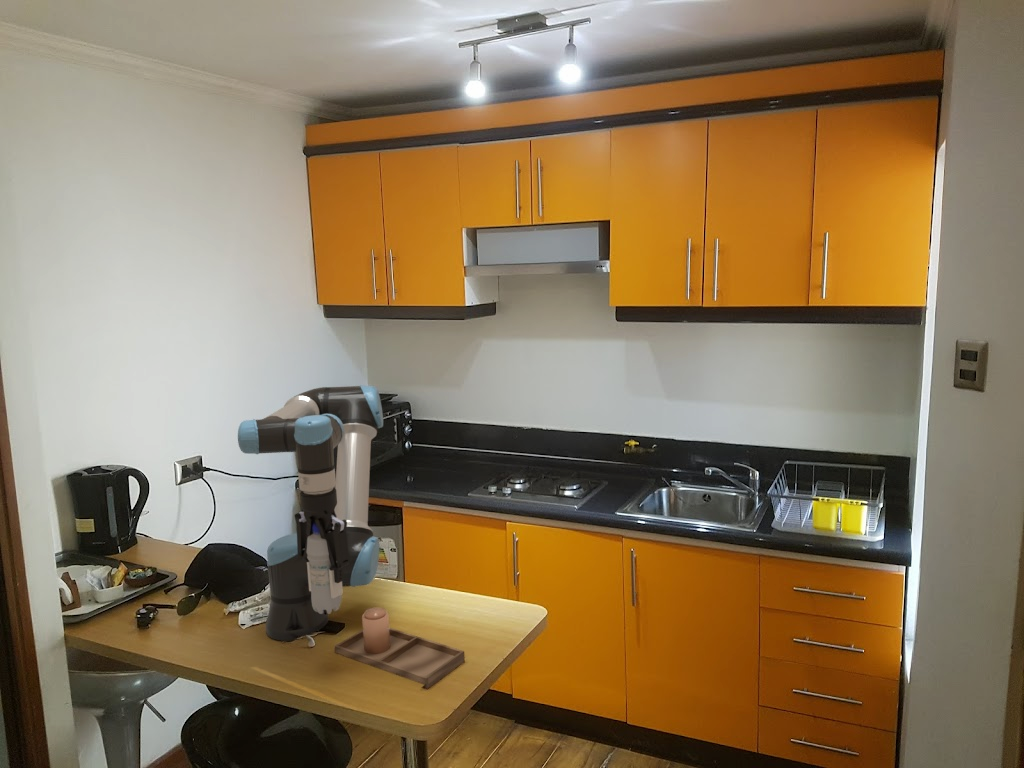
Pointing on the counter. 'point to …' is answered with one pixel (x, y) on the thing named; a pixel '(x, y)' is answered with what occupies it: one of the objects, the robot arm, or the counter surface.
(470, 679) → the counter surface
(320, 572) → the bottle
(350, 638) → the caddy
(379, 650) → the jar
